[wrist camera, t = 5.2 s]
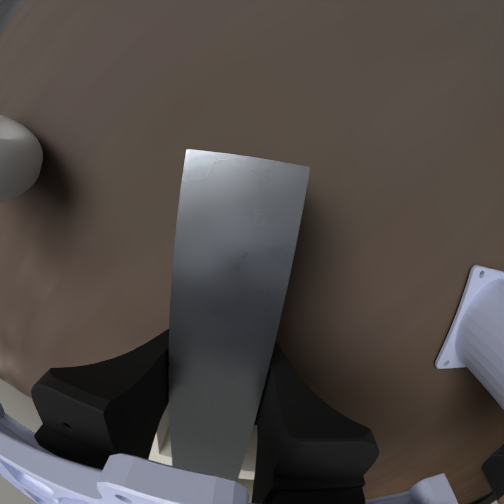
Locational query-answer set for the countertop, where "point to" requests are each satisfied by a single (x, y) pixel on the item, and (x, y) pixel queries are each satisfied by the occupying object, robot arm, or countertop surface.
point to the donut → (17, 158)
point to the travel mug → (496, 474)
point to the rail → (227, 300)
